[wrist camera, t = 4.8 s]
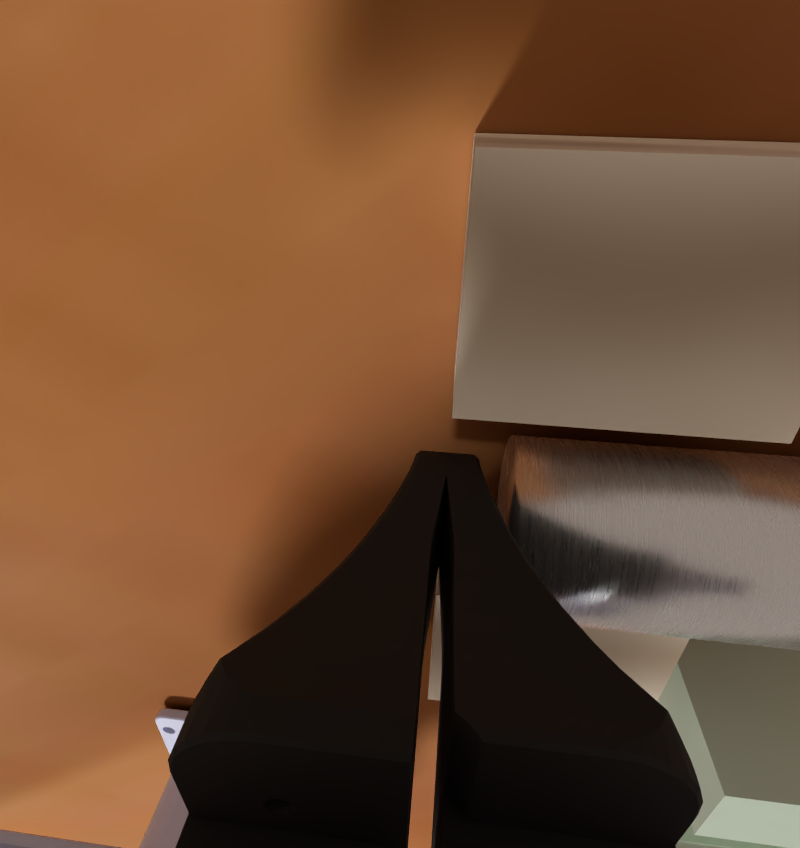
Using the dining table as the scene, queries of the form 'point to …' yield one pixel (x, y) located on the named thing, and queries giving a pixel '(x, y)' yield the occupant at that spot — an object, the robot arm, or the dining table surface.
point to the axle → (660, 536)
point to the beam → (630, 303)
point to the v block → (740, 742)
